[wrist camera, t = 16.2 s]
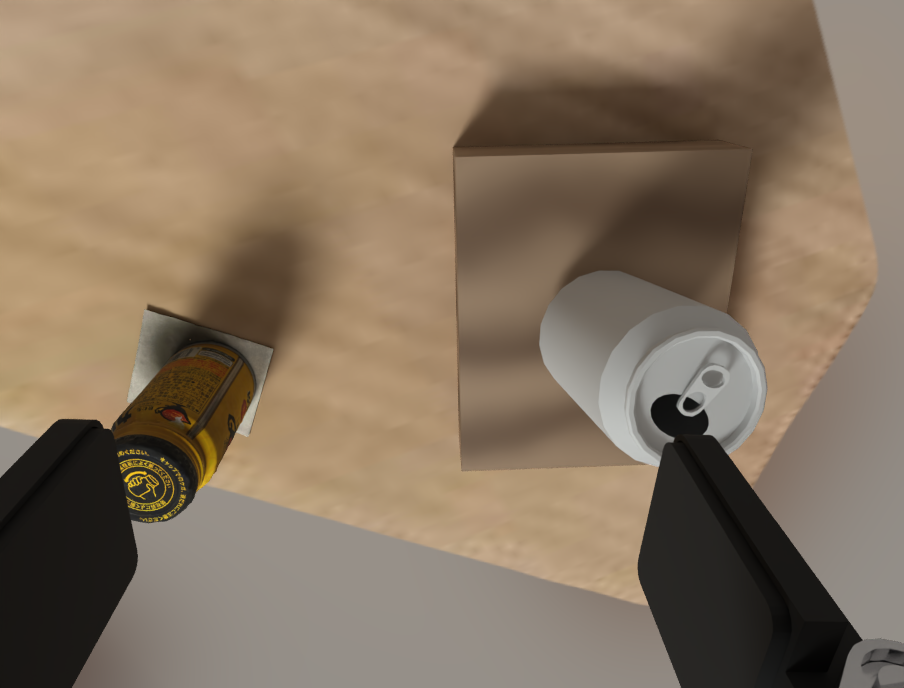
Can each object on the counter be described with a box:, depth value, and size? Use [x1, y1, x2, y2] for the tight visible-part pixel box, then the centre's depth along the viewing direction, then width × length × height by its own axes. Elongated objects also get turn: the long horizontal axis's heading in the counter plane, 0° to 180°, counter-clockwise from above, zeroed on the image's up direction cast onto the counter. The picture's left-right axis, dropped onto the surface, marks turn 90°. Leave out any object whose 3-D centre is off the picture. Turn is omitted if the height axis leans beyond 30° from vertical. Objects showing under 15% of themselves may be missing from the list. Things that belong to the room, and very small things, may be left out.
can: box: [539, 271, 767, 467], centre depth 32 cm, size 8×8×12 cm
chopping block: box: [453, 140, 753, 471], centre depth 41 cm, size 20×16×5 cm
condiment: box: [111, 309, 273, 523], centre depth 38 cm, size 7×8×12 cm
